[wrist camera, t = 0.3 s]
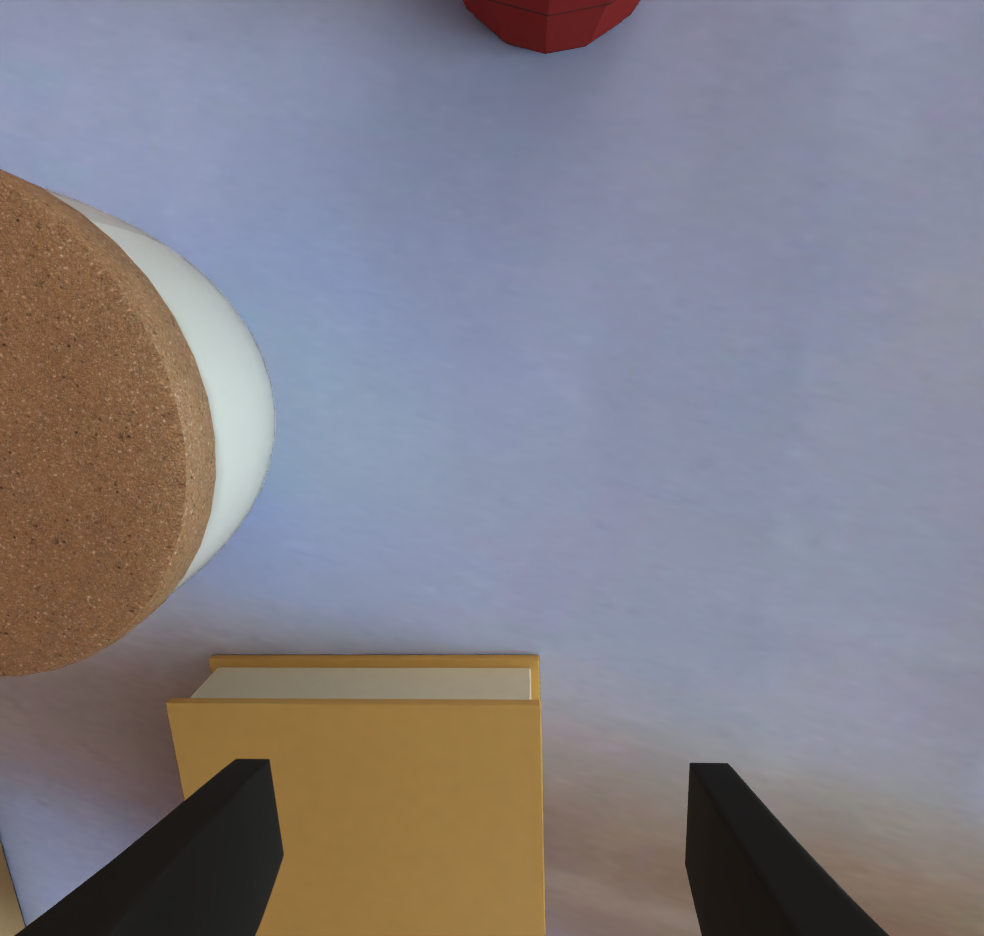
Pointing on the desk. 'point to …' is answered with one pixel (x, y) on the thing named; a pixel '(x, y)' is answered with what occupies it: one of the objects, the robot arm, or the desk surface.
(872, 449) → the desk surface
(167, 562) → the trinket box
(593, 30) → the plastic cup
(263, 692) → the book
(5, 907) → the rail
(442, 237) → the desk surface
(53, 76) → the desk surface
